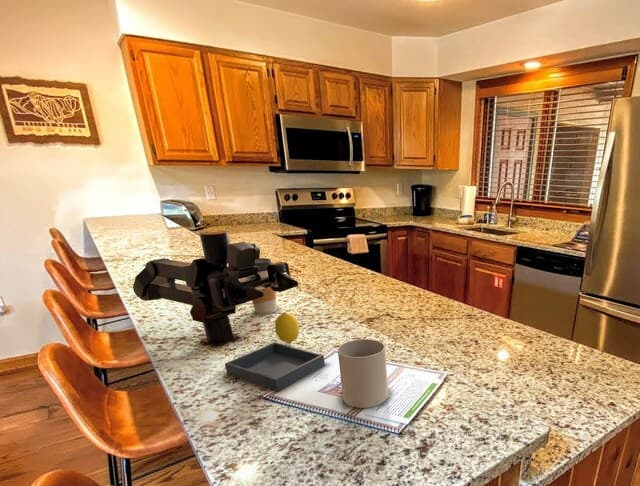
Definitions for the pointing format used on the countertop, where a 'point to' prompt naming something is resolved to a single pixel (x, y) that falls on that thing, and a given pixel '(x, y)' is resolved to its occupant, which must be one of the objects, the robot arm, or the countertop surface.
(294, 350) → the tray
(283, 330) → the lemon
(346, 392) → the cup
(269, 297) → the coffee cup
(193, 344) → the countertop surface
